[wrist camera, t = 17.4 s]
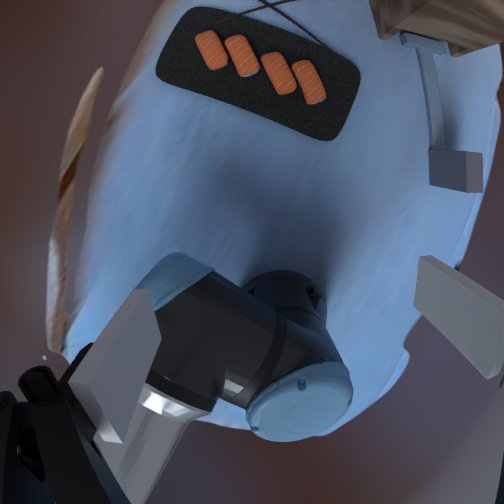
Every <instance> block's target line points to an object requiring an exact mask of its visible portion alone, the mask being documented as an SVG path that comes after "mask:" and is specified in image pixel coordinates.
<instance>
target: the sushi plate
mask: <svg viewBox="0 0 504 504" xmlns="http://www.w3.org/2000/svg"><path fill="white" fill-rule="evenodd" d="M259 1H260V2H262V3H264V4H265V6H261V7H258V8H255V9H251V10H248V11H245V12H242V13H239V14H234V13H231V12H227V11H223V10H219V9H214V8H209V7H194V8H191V9H190V10H188V11H187V12H186V13H185V14H184V15H183V16H182V17H181V19H180V20H179V22H178V23H177V25H176V26H175V28H174V30H173V31H172V33H171V35H170V37H169V39H168V40H167V42H166V44H165V46H164V48H163V50H162V52H161V54H160V56H159V59H158V61H157V65H156V75H157V77H158V78H159V79H161V80H162V81H164V82H166V83H168V84H171V85H174V86H177V87H180V88H183V89H187V90H190V91H193V92H196V93H199V94H202V95H205V96H209V97H212V98H214V99H217V100H220V101H223V102H226V103H229V104H232V105H234V106H237V107H240V108H242V109H245V110H248V111H250V112H253V113H255V114H258V115H260V116H263V117H265V118H268V119H270V120H273V121H275V122H277V123H280V124H282V125H284V126H287V127H289V128H291V129H294V130H296V131H298V132H300V133H303V134H305V135H307V136H310V137H312V138H315V139H318V140H322V141H331V140H333V139H334V138H336V137H337V135H338V134H339V133H340V131H341V129H342V128H343V126H344V124H345V121H346V119H347V117H348V115H349V112H350V110H351V107H352V105H353V102H354V100H355V97H356V94H357V91H358V88H359V85H360V79H361V77H360V71H359V70H358V68H357V67H356V66H355V65H354V64H353V63H351V62H350V61H349V60H347V59H345V58H344V57H342V56H340V55H338V54H336V53H335V52H333V51H332V50H331V49H329V48H328V47H327V46H326V45H325V44H324V43H322V42H321V41H320V40H319V39H317V38H316V37H315V36H314V35H312V34H311V33H310V32H308V31H307V30H306V29H305V28H303V27H302V26H301V25H299V24H298V23H297V22H295V21H294V20H292V19H291V18H290V17H288V16H287V15H285V14H284V13H283V12H281V11H280V10H278V9H277V8H275V7H274V5H278V4H282V3H286V2H290V1H295V0H283V1H279V2H275V3H272V4H269V3H268V2H266V1H265V0H259ZM266 7H270V8H272V9H273V10H275V11H276V12H278V13H279V14H281V15H282V16H284V17H285V18H287V19H288V20H290V21H291V22H292V23H294V24H295V25H297V26H298V27H299V28H301V29H302V30H303V31H305V32H306V33H307V34H309V35H310V36H311V37H313V38H314V39H315V40H316V41H318V42H319V43H320V44H321V45H323V46H324V47H325V48H324V47H322V46H320V45H318V44H316V43H314V42H311V41H309V40H307V39H305V38H302V37H300V36H298V35H295V34H293V33H290V32H288V31H285V30H282V29H280V28H277V27H274V26H272V25H269V24H266V23H263V22H260V21H257V20H254V19H251V18H248V17H245V16H241V15H243V14H246V13H249V12H253V11H256V10H259V9H263V8H266Z"/></svg>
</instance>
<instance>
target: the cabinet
mask: <svg viewBox="0 0 504 504" xmlns="http://www.w3.org/2000/svg"><path fill="white" fill-rule="evenodd" d="M369 3H370V6H371V10H372V13H373V17H374V21H375V24H376V28H377V32H378V36H379V39H384V40H387V39H389V38H390V37H392V36H393V35H394V34H396V33H397V32H399V31H400V30H401V29H403V30H407V31H411V32H415V33H419V34H423V35H426V36H430V37H433V38H437V39H440V40H443V41H446V42H448V46H449V50H450V54H451V56H454V57H459V56H461V55H464V54H467V53H470V52H473V51H476V50H479V49H482V48H485V47H488V46H492V45H495V44H498V43H502V42H504V0H369Z"/></svg>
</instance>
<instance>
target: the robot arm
mask: <svg viewBox="0 0 504 504" xmlns="http://www.w3.org/2000/svg"><path fill="white" fill-rule="evenodd" d="M413 306H414V307H415V308H416V309H417V310H418V311H420V312H421V313H422V314H423V315H424V316H425V317H426V318H427V319H428V320H429V321H430V322H431V323H432V324H433V325H434V326H435V327H436V328H437V329H438V330H439V331H440V332H441V333H443V335H444V336H445V337H446V338H447V339H448V340H449V341H450V342H451V343H453V345H454V346H455V347H457V349H458V350H459V351H460V352H461V353H462V354H463V355H464V356H465V357H466V358H467V359H468V360H469V361H470V362H471V363H472V364H473V365H474V366H475V367H476V368H477V370H478V371H479V372H480V373H481V374H482V375H483V376H484V377H485V378H486V379H487V380H488V379H490V378H491V377H493V376H495V375H497V374H499V372H500V370H501V367H502V365H503V362H504V301H503V300H502V299H500V298H498V297H497V296H495V295H494V294H493V293H491V292H489V291H488V290H487V289H485V288H483V287H482V286H480V285H479V284H477V283H475V282H474V281H473V280H471V279H469V278H468V277H466V276H465V275H463V274H461V273H460V272H458V271H456V270H455V269H453V268H451V267H450V266H448V265H446V264H445V263H443V262H441V261H440V260H438V259H436V258H435V257H433V256H431V255H428V256H422V257H419V263H418V273H417V282H416V291H415V298H414V305H413ZM326 318H327V309H326V304H325V300H324V298H323V296H322V294H321V292H320V291H319V289H318V288H317V286H316V285H315V284H314V283H313V282H312V281H311V280H310V279H308V278H307V277H305V276H303V275H301V274H299V273H296V272H291V271H272V272H268V273H265V274H262V275H260V276H258V277H256V278H254V279H253V280H251V281H250V282H249V283H248V284H246V285H245V286H244V288H243V289H242V288H240V287H238V286H237V285H235V284H234V283H232V282H231V281H229V280H228V279H226V278H224V277H223V276H221V275H220V274H218V273H217V272H215V271H214V269H213V268H212V267H207V266H205V265H203V264H202V263H200V262H198V261H196V260H195V259H193V258H191V257H189V256H188V255H186V254H183V253H172V254H169V255H167V256H165V257H164V258H163V259H162V260H160V261H159V262H158V263H157V264H156V265H155V266H154V267H153V268H152V270H151V271H150V272H149V273H148V274H147V275H146V276H145V277H144V278H143V280H142V281H141V282H140V283H139V284H138V286H137V287H136V288H135V289H134V290H133V291H132V292H131V293H130V295H129V296H128V297H127V299H126V300H125V301H124V303H123V304H122V305H121V307H120V308H119V309H118V311H117V312H116V313H115V315H114V316H113V317H112V319H111V320H110V322H109V323H108V324H107V326H106V327H105V328H104V330H103V331H102V333H101V334H100V335H99V337H98V338H97V340H96V341H95V343H89V344H88V345H87V346H85V347H84V348H83V349H81V350H80V352H79V353H78V355H77V356H76V357H75V359H74V360H73V362H72V363H71V366H69V367H68V369H67V370H66V372H65V373H64V374H63V376H62V378H61V379H60V380H59V382H57V380H56V378H55V376H54V374H53V372H52V371H51V369H50V368H49V367H47V366H36V367H33V368H31V369H29V370H27V371H26V372H25V373H23V374H22V375H21V377H20V378H19V381H18V386H19V387H20V389H21V391H22V392H23V394H24V396H25V397H26V399H27V400H28V402H18V401H17V400H16V398H15V397H14V395H13V394H12V393H11V392H9V391H2V392H0V504H55V503H56V504H145V502H146V500H147V498H148V496H149V495H150V493H151V491H152V489H153V487H154V486H155V484H156V482H157V480H158V478H159V476H160V474H161V473H162V471H163V469H164V467H165V465H166V464H167V462H168V460H169V458H170V456H171V454H172V452H173V450H174V449H175V447H176V445H177V443H178V441H179V439H180V437H181V436H182V434H183V431H184V430H185V428H186V426H187V424H188V422H190V421H191V420H193V419H197V418H200V417H203V416H206V415H210V413H211V412H212V410H213V408H214V406H215V404H216V402H217V400H218V399H219V398H220V399H222V400H225V401H227V402H229V403H231V404H233V405H236V406H238V407H240V408H243V409H245V410H246V421H247V422H248V424H249V425H250V428H251V430H252V431H253V432H254V433H255V434H256V435H257V436H260V437H261V438H263V439H267V440H271V441H278V442H286V441H296V440H301V439H304V438H307V437H311V436H314V435H316V434H318V433H320V432H322V431H324V430H326V429H328V428H329V427H331V426H332V425H333V424H335V423H336V422H337V421H338V420H339V419H340V418H341V417H342V416H343V415H344V414H345V413H346V411H347V410H348V408H349V407H350V404H351V402H352V397H353V386H352V382H351V379H350V375H349V371H348V368H347V367H346V366H345V365H344V363H343V361H342V359H341V357H340V355H339V353H338V351H337V349H336V347H335V345H334V343H333V341H332V339H331V337H330V335H329V333H328V331H327V329H326ZM503 383H504V376H503V378H502V380H501V382H500V385H499V388H501V387H502V385H503ZM17 449H18V454H17ZM495 504H504V455H503V462H502V470H501V476H500V482H499V487H498V492H497V497H496V501H495Z"/></svg>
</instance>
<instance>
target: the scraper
mask: <svg viewBox="0 0 504 504" xmlns="http://www.w3.org/2000/svg"><path fill="white" fill-rule="evenodd" d="M400 40H401V44H402V46H406V47H411V48H415V49H416V52H417V57H418V61H419V66H420V71H421V77H422V82H423V88H424V94H425V101H426V109H427V117H428V126H429V137H430V150H428V153H429V177H430V185H433V186H438V187H443V188H448V189H452V190H457V191H462V192H466V193H483V158H482V153H476V152H468V151H446V141H445V129H444V120H443V111H442V104H441V97H440V91H439V85H438V79H437V74H436V69H435V64H434V60H433V55H432V53H435V54H438V55H442V54H444V53H446V49H445V45H444V43H442V42H438V41H435V40H432V39H428V38H425V37H421V36H417V35H413V34H409V33H403V34H402V35H400Z"/></svg>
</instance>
